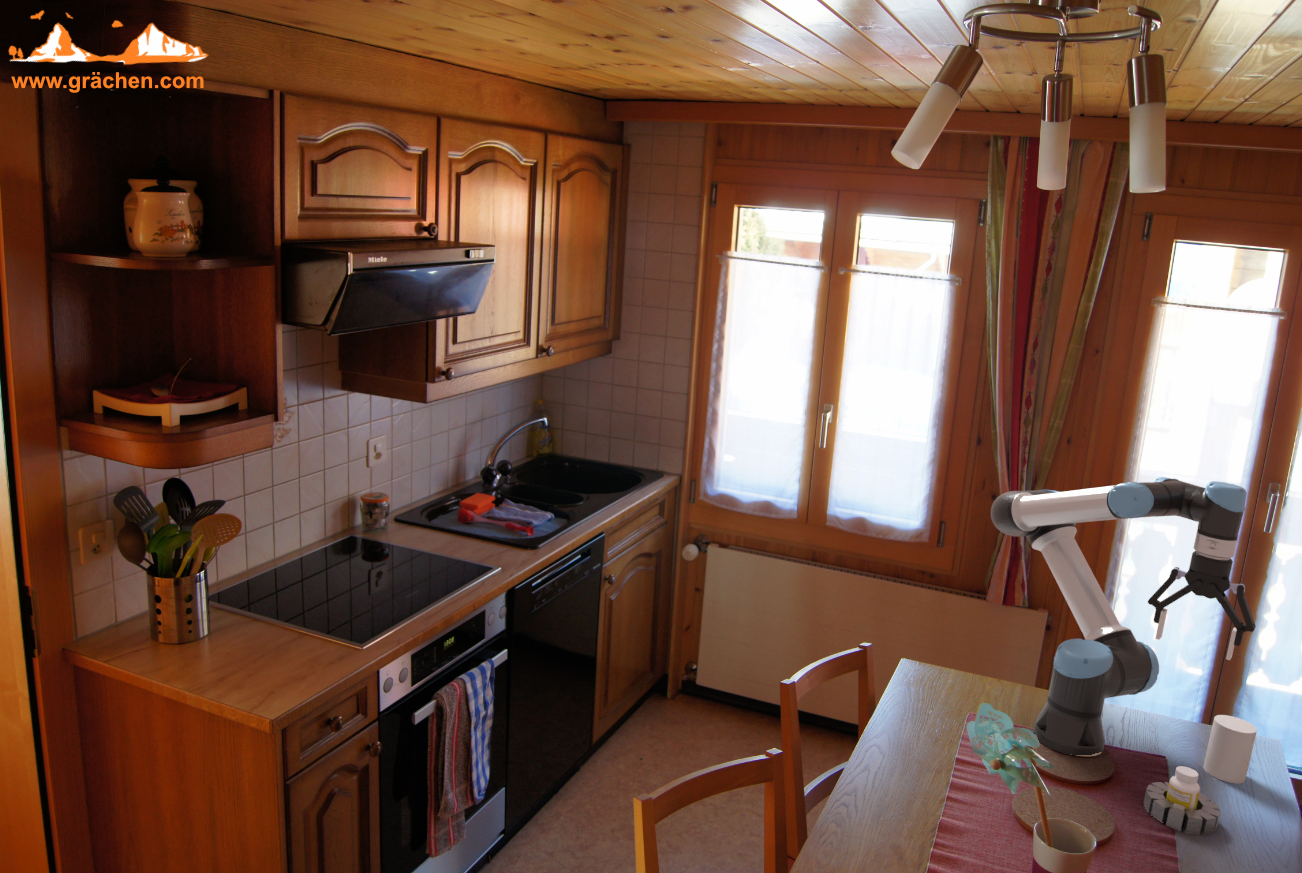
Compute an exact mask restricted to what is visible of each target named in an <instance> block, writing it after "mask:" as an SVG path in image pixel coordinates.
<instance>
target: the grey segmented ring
mask: <svg viewBox="0 0 1302 873" xmlns="http://www.w3.org/2000/svg"><path fill="white" fill-rule="evenodd" d="M1168 787H1169V782H1168V781H1164V782H1161V781H1158V782H1157V781H1156V782H1151V783H1150V784H1148V785H1147V787H1146V789H1145V794H1144V798H1143V804H1144V805H1143V806H1144V807H1145V808H1144V807H1143V808H1144V810H1145V809H1146V810H1147V811H1146V810H1145V811H1146V813H1147V812H1148V813H1151V814H1150V817H1151V816H1153V817H1154V818H1156V819H1157V820H1159V821H1160V822H1161V823H1162V822H1166V823H1165V826H1166V825H1167V826H1169V827H1168V828H1170V827H1171V828H1170V829H1172V828H1173V829H1172V830H1174V831H1178V832H1181V831H1183V833H1185V834H1187V835H1193V836H1194V835H1195V836H1200V835H1202V836H1209V835H1213V834H1214V833H1216V831H1217V828H1218V824H1219V820H1220V816H1221V808H1220V807H1219V806H1218V804H1216V802H1215V801H1212V798H1210V797H1208V796H1207V795H1205V794H1203V793H1202V792H1199V797H1198V802H1197V807H1196V810H1195V811H1194V810H1188V809H1185V807H1184V806H1181V805H1179V804H1176V803H1174V804H1172V803H1171V802H1169V801H1168V800H1166V797H1167V792H1168ZM1148 813H1147V814H1148ZM1153 817H1152V818H1153ZM1154 818H1153V819H1154ZM1157 820H1156V821H1157ZM1160 822H1159V823H1160ZM1161 823H1160V824H1161ZM1162 824H1163V823H1162ZM1167 826H1166V827H1167Z"/></svg>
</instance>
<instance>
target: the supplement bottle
mask: <svg viewBox="0 0 1302 873" xmlns="http://www.w3.org/2000/svg"><path fill="white" fill-rule="evenodd" d="M1198 779H1199V773H1198V772H1197V770H1195V769H1193V768H1191V767H1187V766H1183V765H1180V766H1176V768H1175V773H1174V775H1173V776H1171V778H1170V779H1169V782H1168V783H1169V787H1168V792H1167V797H1166V800H1168V801H1169V802H1171V803H1172V804H1174V803H1176V804H1179V805H1181V806H1184V807H1185V809H1188V810H1194V811H1195V810H1196V807H1197V802H1198V797H1199V793H1201V792H1200V791H1201V787H1200V785H1199V783H1198Z"/></svg>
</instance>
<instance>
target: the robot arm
mask: <svg viewBox="0 0 1302 873" xmlns="http://www.w3.org/2000/svg"><path fill="white" fill-rule="evenodd" d="M1247 496H1248V495H1247V490H1246V489H1245V488H1244V487H1242V486H1241V485H1237V484H1234V483H1229V482H1224V481H1209V482H1208V483H1207V484H1206V486H1205V487H1202V486H1199V485H1196V484H1191V483H1188V482H1184V481H1182V480H1179V479H1177V478H1170V477H1164V476H1162V477H1158V478H1156V479H1155V480H1153V481H1152V482H1150V481H1148V482H1145V481H1143V482H1136V481H1131V482H1130V481H1128V482H1122V483H1118V484H1115V485H1114V484H1113V485H1107V486H1100V487H1099V486H1097V487H1090V488H1082V489H1075V490H1074V489H1073V490H1068V491H1067V490H1065V491H1057V490H1052V489H1051V490H1050V489H1048V488H1047V489H1044V488H1043V489H1038V490H1012V491H1011V490H1009V491H1007V492H1004V493H1002V494H1000V495H998V496H997V497H996V498H995V500H994V501H993V503H992V505H991V507H990V518H991V521H992V524H993V525H994V527H995V528H996V529H997V530H998V531H1000V532H1001V533H1002V534H1004V535H1008V536H1009V537H1026V539H1027V540H1028V542H1029V544H1030V546H1031V548H1032V549H1033V550H1036V551H1039V552H1041V554H1042V557H1043V558H1044V560H1045V562H1046V564H1047V565H1048V568H1049V570H1050V572H1051V573H1052V576H1053V577H1054V579H1055V581H1056V584H1057V585H1058V588H1059V590H1060V592H1061V593H1062V594H1061V595H1063V598H1064V599H1065V601H1066V603H1067V605H1068V607H1069V609H1070V611H1071V613H1072V616H1073V617H1074V619H1075V621H1076V623H1077V625H1078V627H1079V629H1080V631H1081V632H1082V635H1083V637H1084V639H1082V638H1071V639H1067V640H1064V641H1062V642H1061V643H1060V644H1059V645H1058V647H1057V648H1056V652H1055V655H1054V657H1053V665H1052V671H1051V677H1050V683H1049V687H1048V693H1047V694H1048V695H1047V699H1046V703H1045V704H1044V706H1043V707H1042V709H1041V710H1040V712H1039V714H1038V715H1037V718H1036V719H1035V721H1034V725H1033V731H1032V732H1034V733H1035V734H1036V735H1037V737H1038V739H1039V740H1038V739H1037V740H1038V741H1039V742H1040V743H1041V744H1043V745H1045V746H1046V747H1048V748H1050V749H1051V750H1054V751H1056V752H1059V753H1063V754H1064V755H1065V754H1066V755H1068V754H1072V755H1092V754H1095V753H1099V752H1102V751H1103V752H1104V749H1105V743H1106V740H1105V739H1106V738H1105V734H1104V732H1105V731H1104V729H1103V728H1104V727H1103V720H1102V714H1103V713H1102V712H1103V710H1104V704H1105V699H1109V698H1110V699H1111V698H1115V697H1121V696H1127V695H1129V696H1130V695H1131V696H1133V695H1137V694H1139V693H1143V692H1144V693H1145V692H1146V691H1148V690H1150V689H1151V688H1153V686H1154V685H1156V683H1157V680H1158V676H1159V673H1160V663H1159V660H1158V657H1157V654H1156V652H1155V650H1153V649H1152V647H1150V646H1149V645H1148V644H1145V643H1144V642H1142V641H1139V640H1137V638H1136V637H1135V635H1134V634H1133V631H1132V630H1131V628H1128V627H1126V626H1123V625H1121V623H1120V621H1119V620H1118V618H1117V616H1116V614H1115V613H1114V610H1113V608H1112V607H1111V606H1112V605H1110V603H1109V600H1108V599H1107V597H1106V595H1105V594H1104V592H1103V589H1102V588H1101V585H1100V584H1099V582H1098V580H1097V579H1096V577H1095V575H1094V573H1093V571H1092V568H1091V567H1090V565H1089V564H1088V562H1087V559H1086V558H1085V555H1084V554H1083V552H1082V550H1081V548H1080V547H1079V545H1078V542H1077V540H1076V539H1075V536H1076V534H1077V532H1078V529H1077V528H1076V525H1077V524H1079V523H1089V522H1098V521H1099V522H1100V521H1101V522H1102V521H1112V520H1122V519H1123V520H1126V519H1138V518H1150V517H1151V518H1152V517H1154V518H1155V517H1171V516H1172V517H1180V518H1184V519H1187V520H1190V521H1193V522H1196V523H1198V524H1197V530H1196V534H1195V538H1194V544H1193V549H1194V551H1193V552H1192V553H1191V558H1190V564H1189V568H1188V571H1185V570H1182V569H1180V567H1177V566H1175V567H1173V569H1171V571H1170V574H1169V577H1168V578H1167V580H1165V581H1164V583H1162V585H1161V586H1160V587H1159V588H1158V589H1157V590H1156V591H1155V592H1154V593H1153V595H1152V596H1151V597H1149V599H1148V600H1147V603H1148V604H1149V605H1151V606H1152V607H1154V608H1155V612H1154V617H1153V622H1154V623H1156V624H1158V625H1157V630H1156V634H1155V640H1158V641H1159V640H1160V639H1161V638H1162V637H1163V632H1164V627H1165V622H1166V618H1167V614H1168V608H1167V607H1169V605H1171V604H1172V603H1174V602H1176V601H1177V600H1178V599H1181V598H1182V597H1184V596H1186V595H1188V594H1189V593H1191V592H1192V593H1193V594H1194V595H1196V596H1198V597H1204V598H1206V599H1211V600H1212V599H1216V600H1217V602H1218V603H1219V604H1220V606H1221V607H1222V608H1223V610H1224V612H1225V614H1226V615H1227V617H1228V619H1230V621H1231V623H1232V624H1233V626H1234V627H1233V628H1232V630H1231V635H1230V639H1229V644H1228V648H1227V653H1226V656H1225V660H1228V661H1231V660H1232V657H1233V653H1234V649H1235V646H1237V647H1240V646H1241V644H1242V642H1243V638H1244V633H1245V632H1249V633H1253V632H1254V631H1255V629H1256V623H1255V620H1254V618H1253V615H1252V612H1251V608H1250V605H1249V603H1248V602H1249V601H1248V600H1247V599H1248V598H1247V597H1246V584H1245V583H1244V582H1240V583H1234V582H1231V581H1230V575H1231V571H1232V567H1233V560H1232V558H1234V557H1235V553H1236V549H1237V544H1238V541H1239V540H1238V537H1239V532H1240V528H1241V525H1242V521H1243V516H1244V513H1245V511H1246V499H1247ZM1181 578H1184V579H1185V580H1186V583H1187V585H1185V586H1184V587H1182V588H1180V589H1178V590H1177V591H1176V592H1174V593H1173V594H1171V595H1169V596H1167V597H1166V598H1164V599H1163V600H1161V601H1160V600H1158V599H1159V598H1160V597H1162V595H1163V594H1164V593H1165V592H1166V591H1167V590H1168V589H1169V588H1170V587H1171V586H1172V584H1174V582H1175V581H1176V580H1180V579H1181ZM1229 589H1231V591H1232V593H1233V594H1234V595H1236V599H1237V603H1238V605H1239V609H1240V612H1241V613H1242V614H1241V615H1242V618H1243V620H1244V622H1243V620H1242V619H1241V617H1240V615H1239V614H1238V613H1237V611H1236V609H1235V608H1234V607H1233V605H1232V603H1231V602H1230V600H1229V598H1228V596H1227V594H1226V593H1225V592H1226V591H1227V590H1229ZM1034 733H1033V734H1034ZM1072 755H1071V756H1072Z"/></svg>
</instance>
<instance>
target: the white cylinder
mask: <svg viewBox="0 0 1302 873" xmlns="http://www.w3.org/2000/svg"><path fill="white" fill-rule="evenodd" d="M1211 726H1212V727H1211V730H1210V735H1209V740H1208V745H1207V748H1206V753H1205V757H1204V762H1203V770H1204V771H1205V772H1206V773H1207V774H1209V775H1210V776H1211V777H1213V778H1215V779H1218V780H1219V781H1220V780H1221V781H1222V782H1226V783H1230V784H1231V783H1232V784H1243V783H1245V782H1246V778H1247V773H1248V770H1249V766H1250V761H1251V758H1252V753H1253V749H1254V744H1255V740H1256V736H1257V731H1258V729H1257V727H1256V726H1255V725H1254V724H1252V723H1251V722H1248V721H1247V720H1245V719H1242V718H1239V717H1236V716H1232V715H1226V714H1217V715H1215V716H1214V718H1213V722H1212V725H1211Z"/></svg>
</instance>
